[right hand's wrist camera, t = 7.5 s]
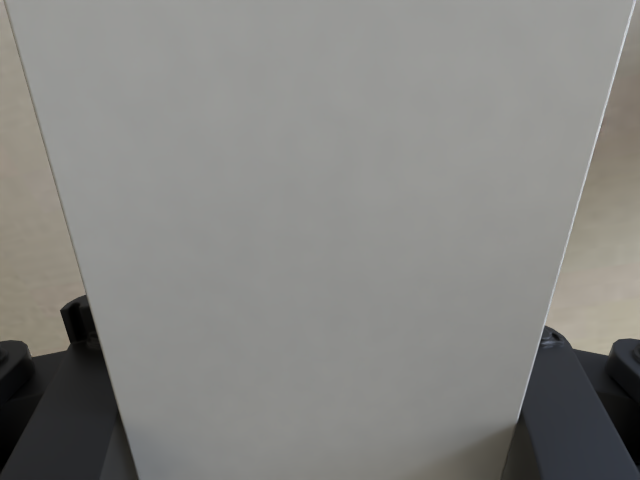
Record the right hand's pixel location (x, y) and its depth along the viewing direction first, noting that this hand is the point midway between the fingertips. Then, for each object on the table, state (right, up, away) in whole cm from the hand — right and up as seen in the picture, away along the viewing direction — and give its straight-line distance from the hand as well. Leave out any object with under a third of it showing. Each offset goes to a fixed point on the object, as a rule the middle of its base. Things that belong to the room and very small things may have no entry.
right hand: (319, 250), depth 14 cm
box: (0, +8, -2) cm, 8 cm away
